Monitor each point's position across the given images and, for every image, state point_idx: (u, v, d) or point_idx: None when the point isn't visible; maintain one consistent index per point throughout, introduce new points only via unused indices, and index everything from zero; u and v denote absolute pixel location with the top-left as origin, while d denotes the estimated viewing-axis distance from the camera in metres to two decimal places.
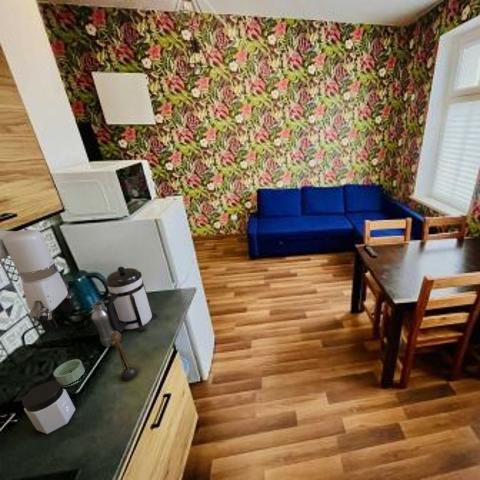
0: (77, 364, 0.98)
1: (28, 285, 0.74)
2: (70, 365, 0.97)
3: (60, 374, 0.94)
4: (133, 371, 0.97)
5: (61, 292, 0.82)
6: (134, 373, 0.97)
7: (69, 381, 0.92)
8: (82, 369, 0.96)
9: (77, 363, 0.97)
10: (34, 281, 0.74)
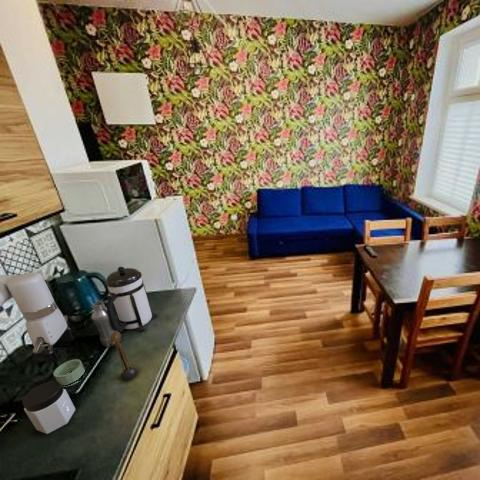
0: (77, 364, 0.98)
1: (31, 324, 0.81)
2: (70, 365, 0.97)
3: (60, 374, 0.94)
4: (134, 371, 0.97)
5: (61, 326, 0.89)
6: (134, 373, 0.97)
7: (69, 381, 0.92)
8: (82, 369, 0.96)
9: (77, 363, 0.97)
10: (36, 319, 0.81)
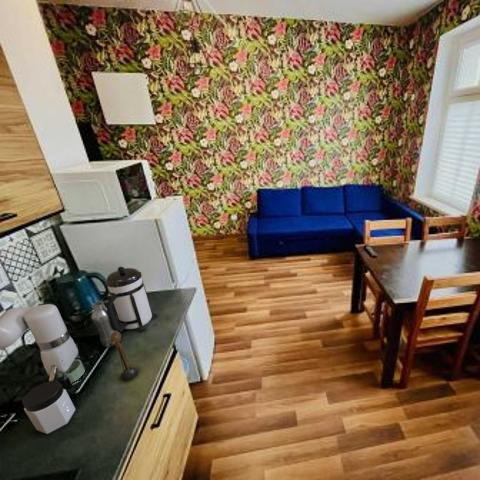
0: (77, 364, 0.98)
1: (45, 353, 0.85)
2: None
3: (60, 374, 0.94)
4: (133, 371, 0.97)
5: (73, 353, 0.94)
6: (134, 373, 0.97)
7: None
8: (82, 369, 0.96)
9: (77, 363, 0.97)
10: (50, 349, 0.86)
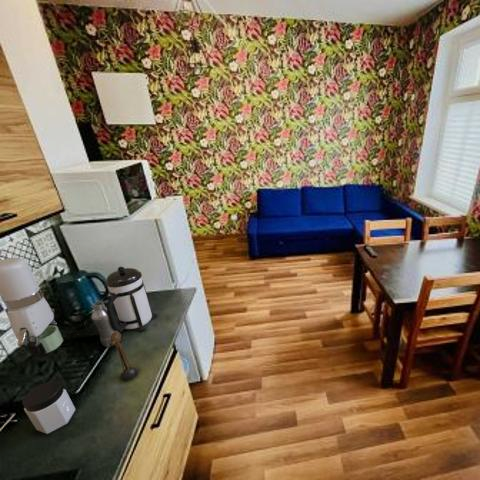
0: (53, 331, 0.87)
1: (13, 313, 0.75)
2: (45, 332, 0.86)
3: (33, 341, 0.83)
4: (134, 371, 0.97)
5: (47, 317, 0.83)
6: (134, 373, 0.97)
7: None
8: (58, 336, 0.85)
9: (53, 329, 0.87)
10: (19, 309, 0.75)
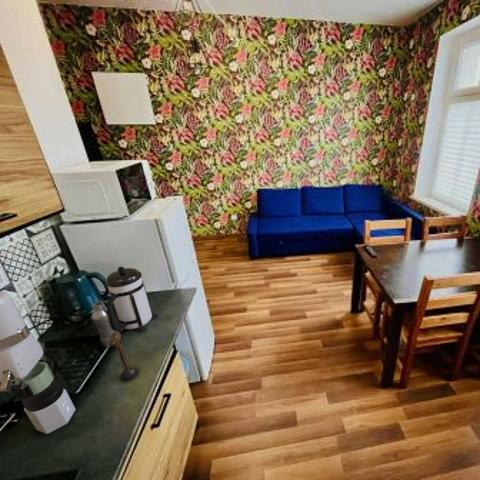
0: (43, 368, 0.78)
1: None
2: (34, 369, 0.78)
3: None
4: (134, 371, 0.97)
5: (35, 354, 0.75)
6: (134, 373, 0.97)
7: None
8: (48, 374, 0.77)
9: (42, 367, 0.78)
10: (2, 349, 0.67)
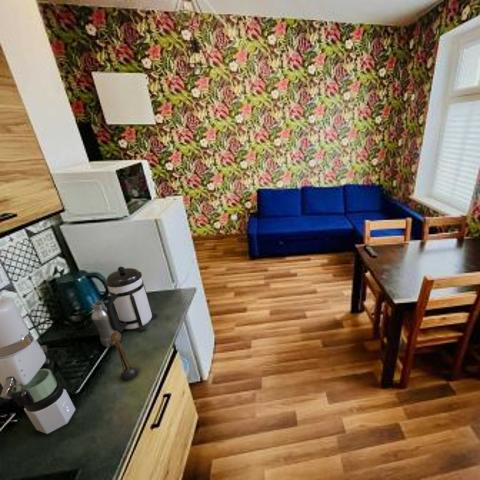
0: (46, 374, 0.79)
1: None
2: (37, 376, 0.79)
3: None
4: (133, 371, 0.97)
5: (38, 360, 0.76)
6: (134, 373, 0.97)
7: (34, 396, 0.74)
8: (51, 381, 0.78)
9: (46, 373, 0.79)
10: (6, 356, 0.68)
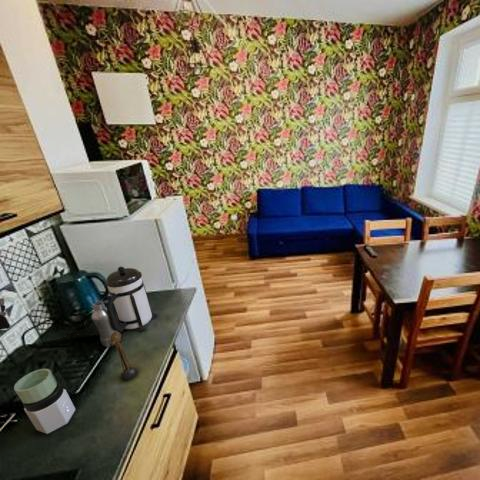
0: (46, 374, 0.79)
1: None
2: (37, 376, 0.79)
3: (24, 387, 0.76)
4: (133, 371, 0.97)
5: None
6: (134, 373, 0.97)
7: (34, 396, 0.74)
8: (51, 381, 0.78)
9: (46, 373, 0.79)
10: None
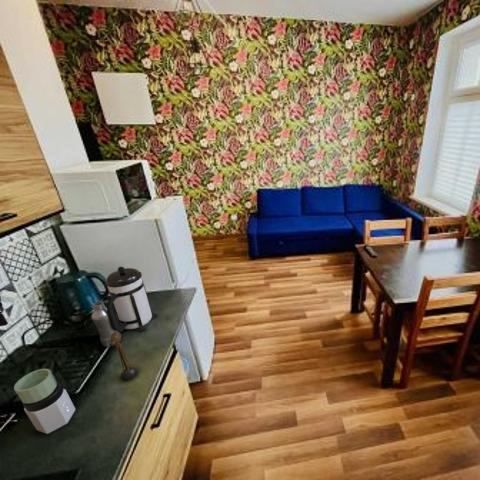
0: (46, 374, 0.79)
1: None
2: (37, 376, 0.79)
3: (24, 387, 0.76)
4: (133, 371, 0.97)
5: None
6: (134, 373, 0.97)
7: (34, 396, 0.74)
8: (51, 381, 0.78)
9: (46, 373, 0.79)
10: None
